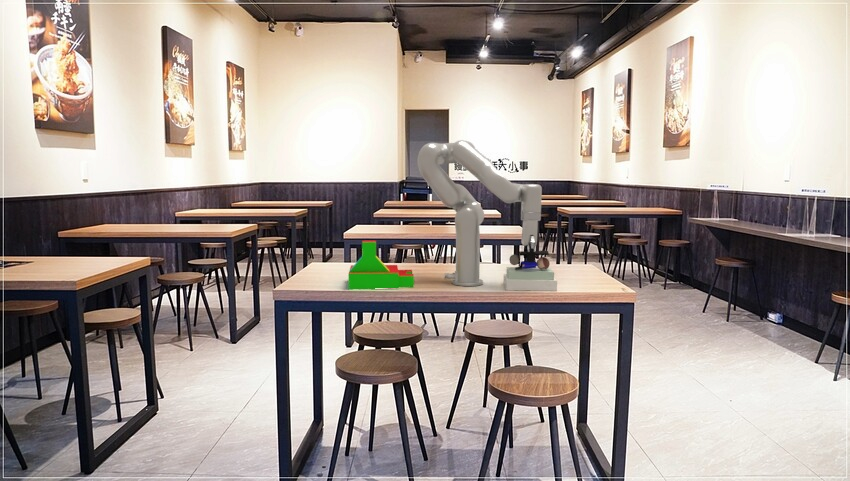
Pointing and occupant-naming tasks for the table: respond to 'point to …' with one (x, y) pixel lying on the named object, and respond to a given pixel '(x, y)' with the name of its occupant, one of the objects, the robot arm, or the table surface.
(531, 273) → the pale green stepped box
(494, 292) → the table surface
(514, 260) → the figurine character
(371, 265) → the building blocks toy
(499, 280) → the table surface
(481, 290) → the table surface
